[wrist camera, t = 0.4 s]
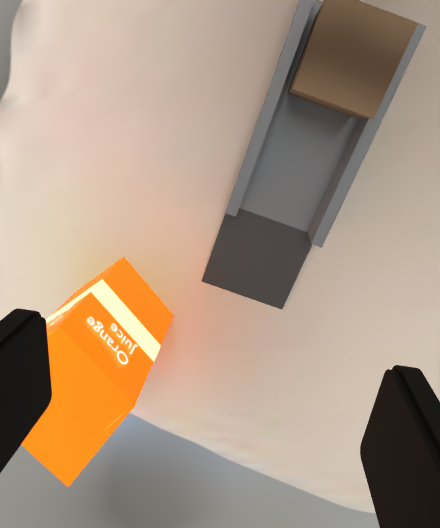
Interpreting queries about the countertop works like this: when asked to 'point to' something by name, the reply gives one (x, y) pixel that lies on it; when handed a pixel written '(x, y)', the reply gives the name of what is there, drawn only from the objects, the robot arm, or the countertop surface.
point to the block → (351, 57)
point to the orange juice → (96, 366)
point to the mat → (257, 257)
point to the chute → (305, 145)
